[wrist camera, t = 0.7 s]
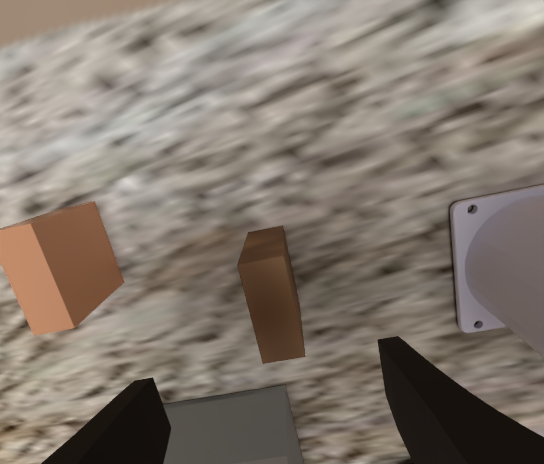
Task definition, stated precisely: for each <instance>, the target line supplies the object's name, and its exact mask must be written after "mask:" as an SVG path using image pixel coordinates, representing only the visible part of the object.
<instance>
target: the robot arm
mask: <svg viewBox="0 0 544 464" xmlns="http://www.w3.org/2000/svg"><path fill="white" fill-rule="evenodd" d="M470 205H473V210H472V211H471V212H469V213H468V211H467V210H468V207H469V206H470ZM450 219H451V233H452V248H453V262H454V276H455V290H456V305H457V319H458V326H459V328H460V329H461V330H462V331H463V332H465V333H473V332H479V331H485V330H491V329H497V328H503V327H508V328H509V329H510V330H512V331H513V332H514V333H515V334H516V335H518V336H519V337H520V338H521V339H522V340H524V341H525V342H526V343H527V344H528V345H530V346H531V347H532V348H533V349H534V350H536V351H537V352H538V353H539V354H540V355H542V356H543V357H544V184H542V185H537V186H532V187H527V188H522V189H517V190H512V191H507V192H502V193H497V194H492V195H487V196H482V197H477V198H472V199H467V200H461V201H458V202H455V203H454V204H453V205H452V206H451V208H450ZM476 321H479V323H478V324H476V325H474V323H475V322H476ZM378 346H379V353H380V359H381V366H382V373H383V380H384V386H385V393H386V397H387V400H388V403H389V406H390V409H391V411H392V414H393V417H394V420H395V423H396V426H397V429H398V431H399V433H400V435H401V437H402V439H403V442H404V444H405V446H406V448H407V450H408V452H409V455H410V457H411V459H412V461H413V463H414V464H544V437H542V436H541V435H539V434H537V433H535V432H533V431H531V430H530V429H528V428H526V427H524V426H523V425H521V424H519V423H518V422H516V421H514V420H513V419H511V418H509V417H507V416H506V415H504V414H502V413H501V412H499V411H497V410H496V409H494V408H493V407H491V406H490V405H488V404H486V403H485V402H484V401H482V400H481V399H479V398H478V397H476V396H475V395H473V394H472V393H470V392H469V391H467V390H466V389H465V388H463V387H462V386H460V385H459V384H458V383H456V382H455V381H454V380H452V379H451V378H450V377H448V376H447V375H446V374H444V373H443V372H442V371H440V370H439V369H438V368H436V367H435V366H434V365H433V364H431V363H430V362H429V361H428V360H426V359H425V358H424V357H423V356H421V355H420V354H419V353H418V352H417V351H415V350H414V349H413V348H412V347H411V346H409V345H408V344H407V343H406V342H405V341H404V340H402V339H401V338H400V337H398V336H396V337H390V338H384V339H378ZM170 433H171V425H170V422H169V420H168V417H167V414H166V412H165V409H164V406H163V404H162V401H161V398H160V396H159V393H158V390H157V387H156V385H155V382H154V379H153V378H147V379H141V380H135V381H134V382H133V383H131V384H130V385H129V386H128V387H126V388H125V389H124V390H123V391H122V392H121V393H120V394H118V395H117V396H116V397H115V398H114V399H113V400H112V401H111V402H110V403H109V404H107V405H106V406H105V407H104V408H103V409H102V410H101V411H100V412H99V413H98V414H97V415H96V416H94V417H93V418H92V419H91V420H90V421H89V422H88V423H87V424H86V425H85V426H83V427H82V428H81V429H80V430H79V431H78V432H77V433H76V434H75V435H74V436H72V437H71V438H70V439H69V440H68V441H67V442H66V443H64V444H63V445H62V446H61V447H60V448H59V449H57V450H56V451H55V452H54V453H53V454H52V455H50V456H49V457H48V458H47V459H46V460H45V461H44V462H42V463H41V464H163V463H164V459H165V455H166V451H167V447H168V442H169V437H170Z"/></svg>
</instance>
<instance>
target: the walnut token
mask: <svg viewBox="0 0 544 464" xmlns="http://www.w3.org/2000/svg"><path fill="white" fill-rule="evenodd" d="M238 269H239V273H240V277H241V281H242V285H243V289H244V292H245V296H246V300H247V304H248V308H249V312H250V316H251V320H252V323H253V327H254V331H255V335H256V339H257V343H258V347H259V351H260V354H261V358H262V362H263V364H264V363H270V362H276V361H282V360H288V359H294V358H300V357H305V348H304V339H303V331H302V322H301V313H300V304H299V300H298V295H297V290H296V285H295V281H294V276H293V271H292V266H291V262H290V257H289V252H288V248H287V243H286V238H285V233H284V229H283V226H278V227H273V228H268V229H263V230H258V231H253V232H248V235H247V238H246V241H245V244H244V247H243V250H242V253H241V256H240V259H239V262H238Z"/></svg>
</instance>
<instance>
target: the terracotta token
mask: <svg viewBox="0 0 544 464" xmlns="http://www.w3.org/2000/svg"><path fill="white" fill-rule="evenodd" d="M0 263H1V265H2V267H3V269H4V271H5V274H6V276H7V278H8V280H9V282H10V284H11V287H12V289H13V291H14V293H15V295H16V297H17V300H18V302H19V304H20V306H21V308H22V310H23V312H24V315H25V317H26V319H27V321H28V323H29V325H30V328H31V330H32V332H33V334H34V335H39V334H44V333H50V332H55V331H61V330H66V329H71V328H75V327H76V326H77V325H78V324H79V323H80V322H82V321H83V320H84V319H85V318H86V317H87V316H88V315H89V314H90V313H91V312H92V311H93V310H94V309H96V308H97V307H98V306H99V305H100V304H101V303H102V302H103V301H104V300H105V299H106V298H107V297H108V296H110V295H111V294H112V293H113V292H114V291H115V290H116V289H117V288H118V287H119V286H120V285H121V284H122V283H124V280H123V278H122V275H121V272H120V269H119V267H118V264H117V261H116V258H115V256H114V253H113V250H112V247H111V245H110V242H109V239H108V236H107V234H106V231H105V228H104V225H103V223H102V220H101V217H100V214H99V212H98V209H97V206H96V203H95V201H94V202H89V203H85V204H80V205H75V206H71V207H66V208H62V209H59V210H55V211H52V212H49V213H46V214H43V215H40V216H37V217H34V218H31V219H28V220H25V221H22V222H19V223H16V224H13V225H10V226H6V227H3V228H0Z"/></svg>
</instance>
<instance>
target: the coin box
mask: <svg viewBox="0 0 544 464" xmlns="http://www.w3.org/2000/svg"><path fill="white" fill-rule="evenodd" d="M163 406H164V409H165V412H166V414H167V417H168V420H169V422H170V425H171V433H170V437H169V442H168V447H167V451H166V455H165V459H164V463H163V464H304V461H303V457H302V453H301V449H300V445H299V440H298V436H297V432H296V428H295V424H294V420H293V416H292V412H291V407H290V403H289V399H288V395H287V391H286V387H285V385H281V386H275V387H269V388H262V389H256V390H250V391H244V392H237V393H231V394H225V395H219V396H213V397H206V398H200V399H194V400H188V401H181V402H175V403H169V404H163Z"/></svg>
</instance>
